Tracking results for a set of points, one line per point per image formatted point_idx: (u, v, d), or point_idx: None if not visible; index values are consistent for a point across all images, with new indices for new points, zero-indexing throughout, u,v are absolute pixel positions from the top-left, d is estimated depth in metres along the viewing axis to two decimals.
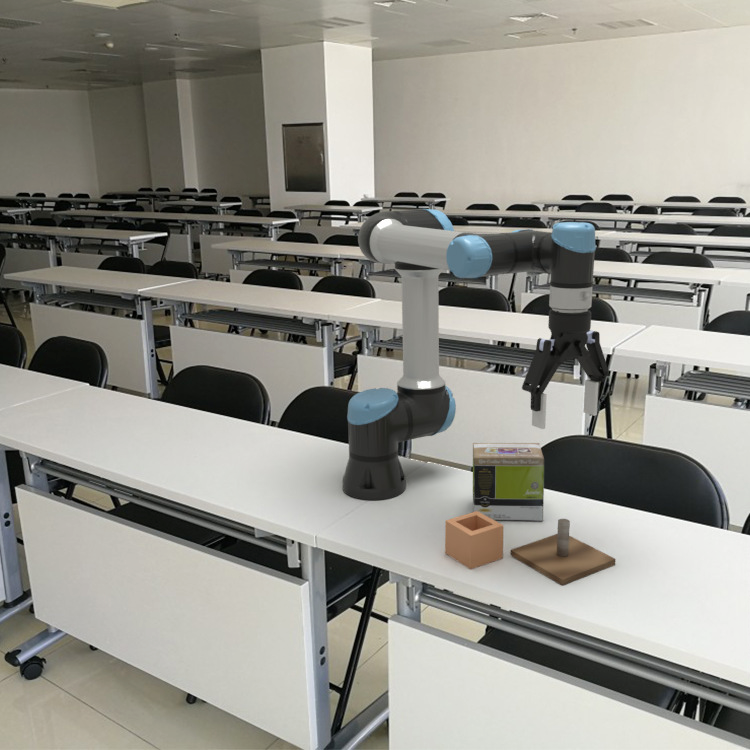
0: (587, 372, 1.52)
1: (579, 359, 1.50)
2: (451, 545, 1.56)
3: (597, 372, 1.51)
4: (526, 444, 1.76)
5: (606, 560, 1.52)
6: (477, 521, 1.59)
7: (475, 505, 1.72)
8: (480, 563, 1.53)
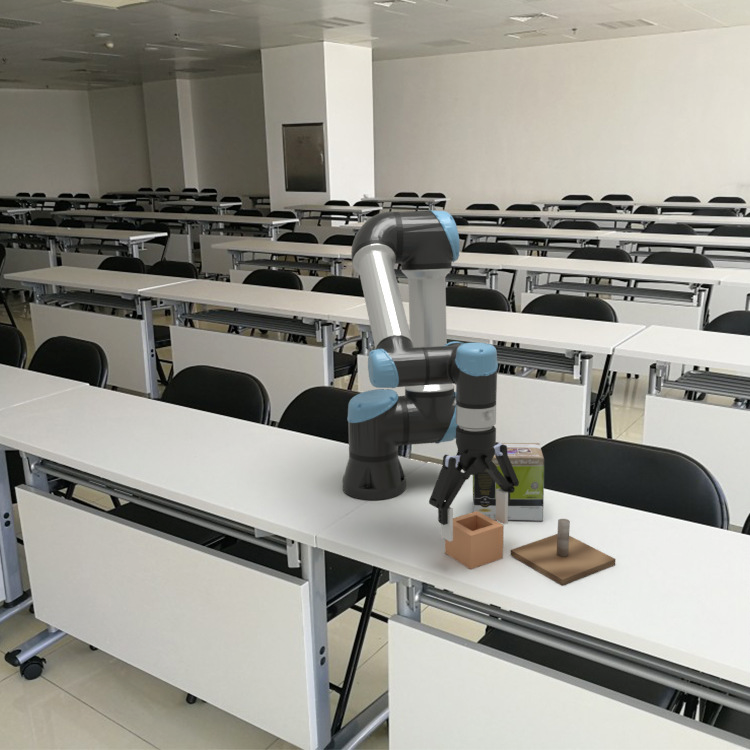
0: (497, 482, 1.57)
1: (488, 471, 1.55)
2: (451, 545, 1.56)
3: (506, 483, 1.56)
4: (526, 444, 1.76)
5: (606, 560, 1.52)
6: (477, 521, 1.59)
7: (475, 505, 1.72)
8: (480, 563, 1.53)
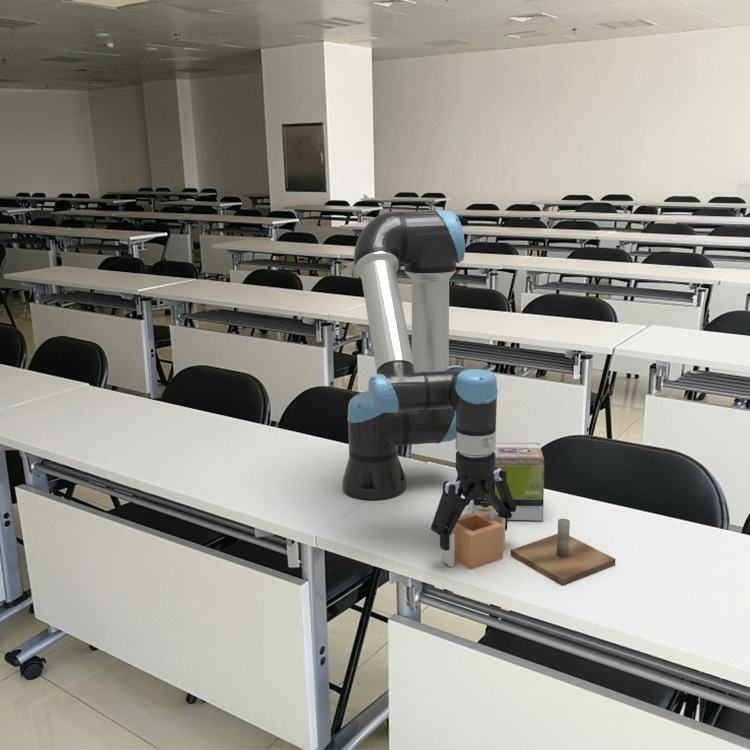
0: (495, 508, 1.58)
1: (486, 496, 1.56)
2: None
3: (504, 508, 1.57)
4: (526, 444, 1.76)
5: (606, 560, 1.52)
6: (477, 521, 1.59)
7: (475, 505, 1.72)
8: (480, 563, 1.53)
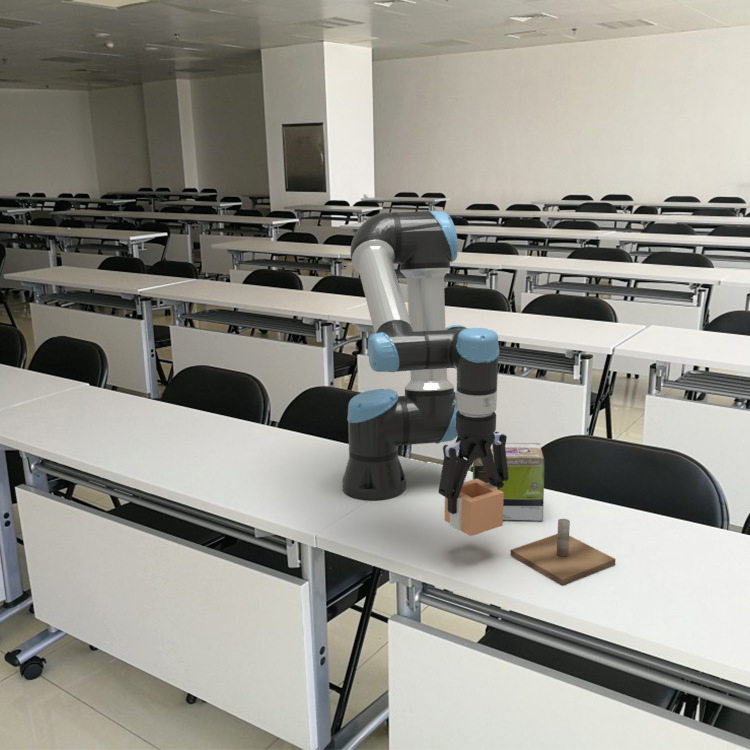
0: (488, 474, 1.56)
1: (483, 460, 1.54)
2: None
3: (497, 476, 1.55)
4: (526, 444, 1.76)
5: (606, 560, 1.52)
6: (477, 488, 1.58)
7: None
8: (480, 530, 1.52)
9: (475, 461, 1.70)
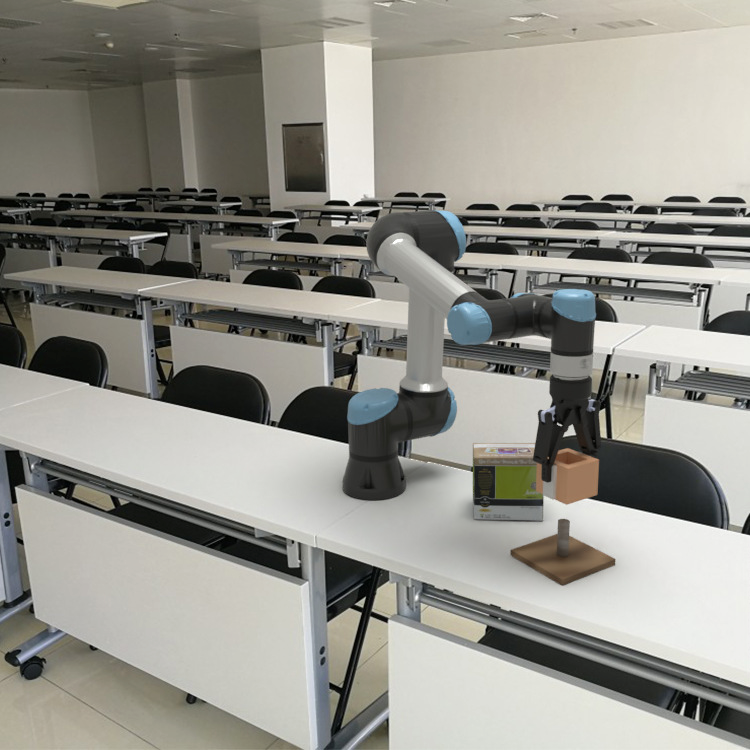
0: (581, 443, 1.51)
1: (576, 427, 1.50)
2: None
3: (590, 444, 1.50)
4: (526, 444, 1.76)
5: (606, 560, 1.52)
6: (568, 457, 1.53)
7: (475, 505, 1.72)
8: (576, 499, 1.47)
9: (475, 461, 1.70)
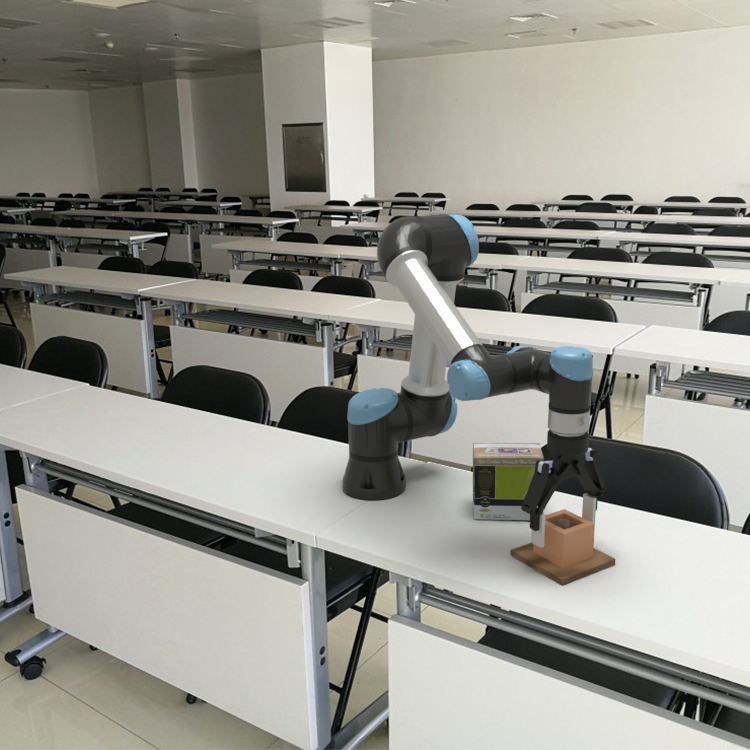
0: (585, 487, 1.55)
1: (577, 476, 1.53)
2: None
3: (595, 488, 1.54)
4: (526, 444, 1.76)
5: (606, 560, 1.52)
6: None
7: (475, 505, 1.72)
8: (572, 562, 1.50)
9: (475, 461, 1.70)
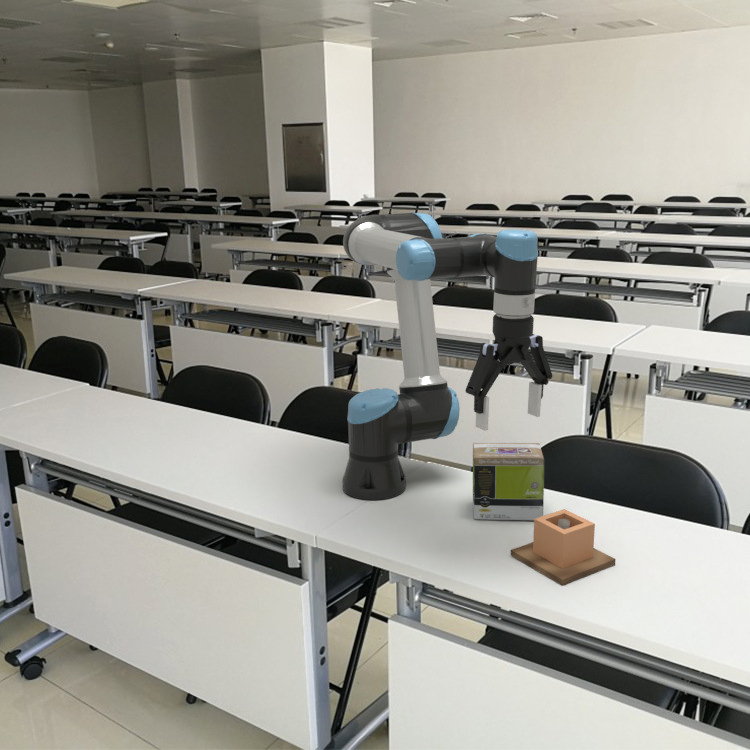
0: (531, 375, 1.56)
1: (523, 362, 1.54)
2: (541, 544, 1.53)
3: (540, 375, 1.55)
4: (526, 444, 1.76)
5: (606, 560, 1.52)
6: None
7: (475, 505, 1.72)
8: (572, 562, 1.50)
9: (475, 461, 1.70)
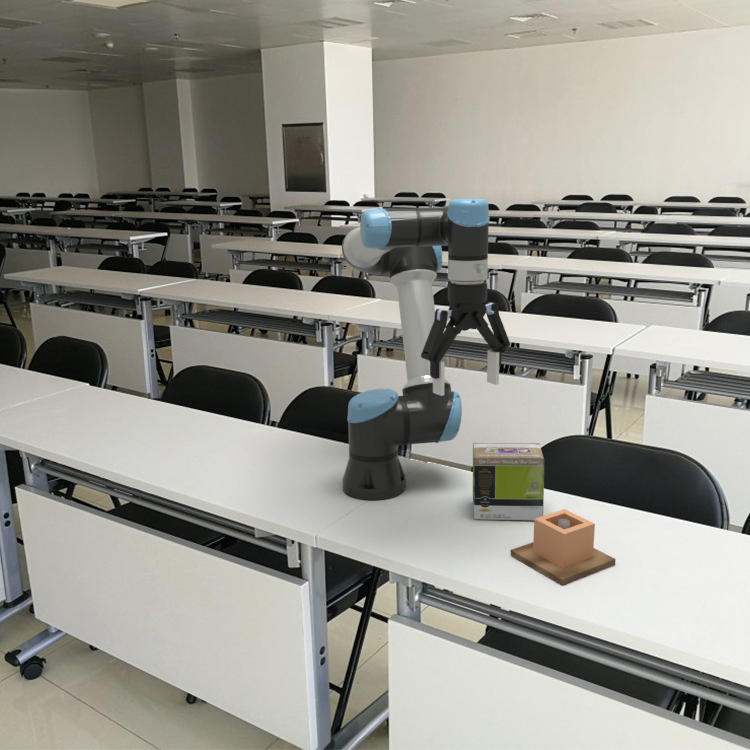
0: (488, 343, 1.59)
1: (479, 330, 1.57)
2: (541, 544, 1.53)
3: (497, 342, 1.58)
4: (526, 444, 1.76)
5: (606, 560, 1.52)
6: None
7: (475, 505, 1.72)
8: (572, 562, 1.50)
9: (475, 461, 1.70)
